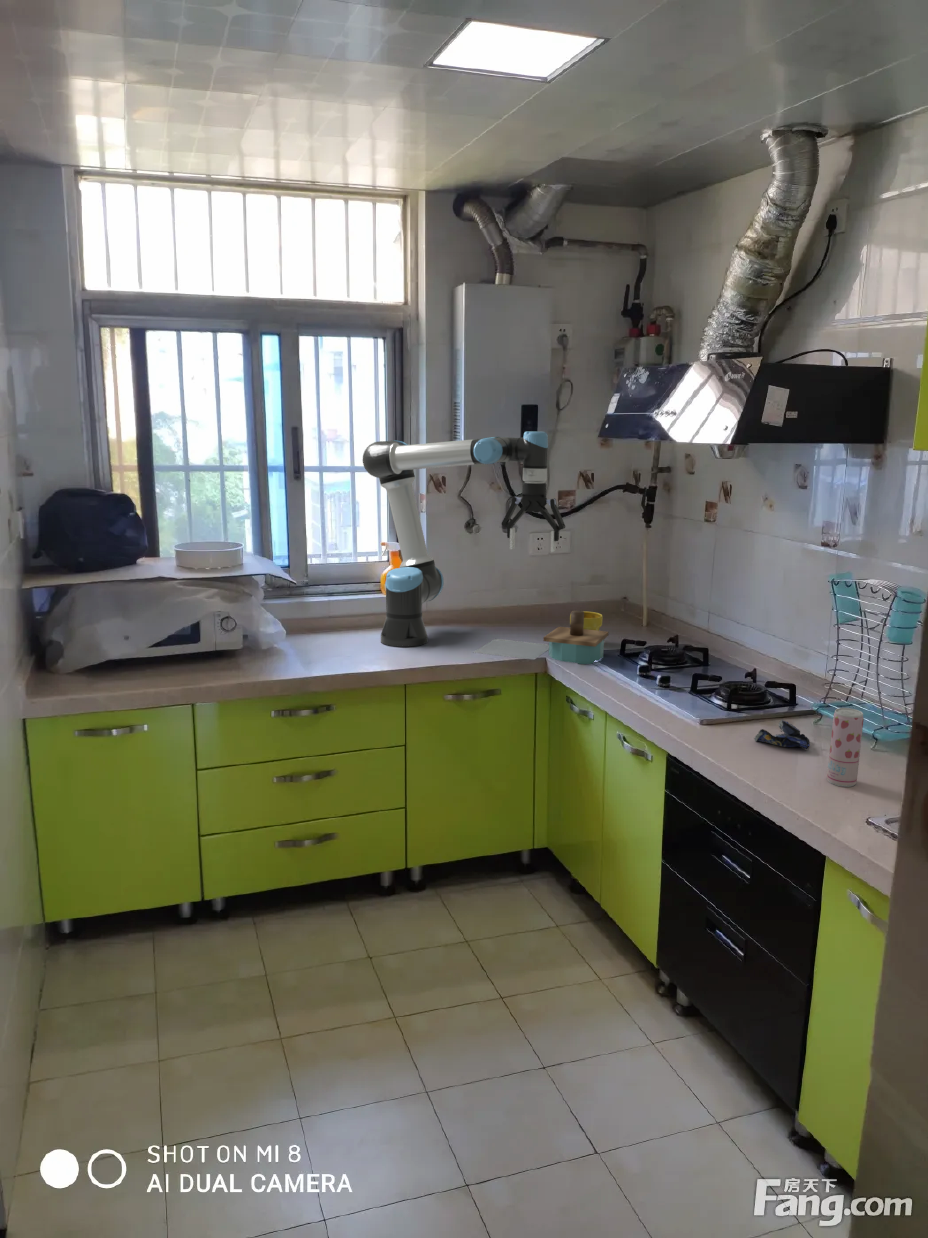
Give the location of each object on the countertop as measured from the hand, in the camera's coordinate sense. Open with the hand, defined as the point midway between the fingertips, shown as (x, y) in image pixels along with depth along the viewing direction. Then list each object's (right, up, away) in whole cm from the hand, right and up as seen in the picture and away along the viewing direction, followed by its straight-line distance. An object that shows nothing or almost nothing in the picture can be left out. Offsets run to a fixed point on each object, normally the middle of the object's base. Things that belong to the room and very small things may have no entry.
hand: (532, 550), depth 294 cm
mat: (-6, -31, -1) cm, 32 cm away
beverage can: (+55, -55, -104) cm, 130 cm away
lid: (+13, -28, -10) cm, 32 cm away
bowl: (+13, -33, -8) cm, 37 cm away
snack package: (+51, -51, -82) cm, 109 cm away
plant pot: (+18, -30, +9) cm, 36 cm away
